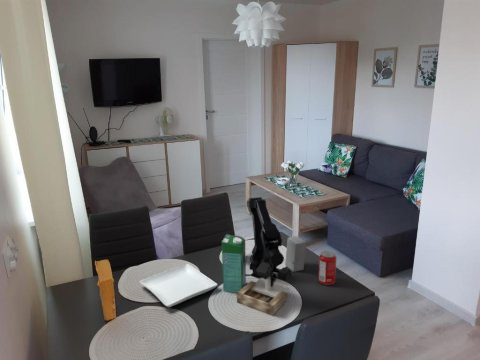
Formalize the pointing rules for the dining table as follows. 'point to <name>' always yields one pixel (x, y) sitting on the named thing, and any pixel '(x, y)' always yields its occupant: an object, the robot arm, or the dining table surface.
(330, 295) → the dining table surface
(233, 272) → the milk carton
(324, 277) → the red food canister
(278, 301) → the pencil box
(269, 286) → the lid
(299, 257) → the skincare box
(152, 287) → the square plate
